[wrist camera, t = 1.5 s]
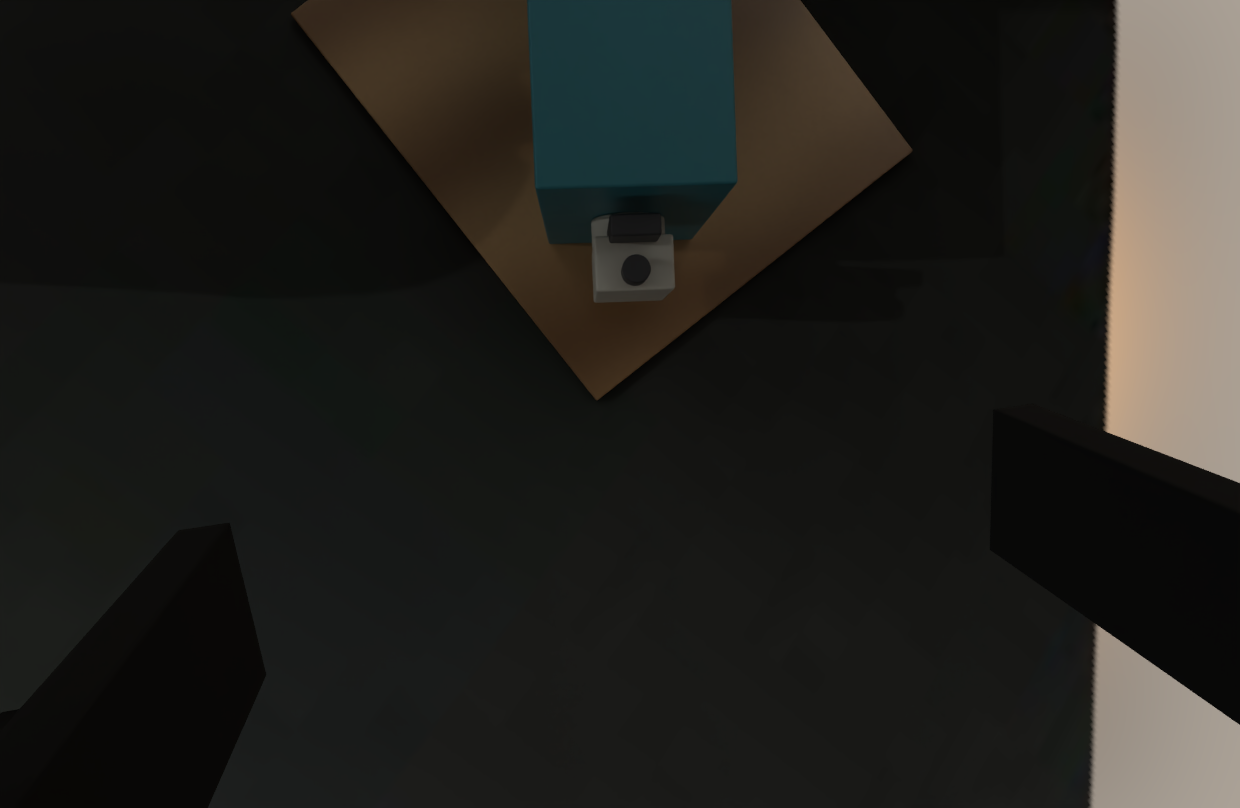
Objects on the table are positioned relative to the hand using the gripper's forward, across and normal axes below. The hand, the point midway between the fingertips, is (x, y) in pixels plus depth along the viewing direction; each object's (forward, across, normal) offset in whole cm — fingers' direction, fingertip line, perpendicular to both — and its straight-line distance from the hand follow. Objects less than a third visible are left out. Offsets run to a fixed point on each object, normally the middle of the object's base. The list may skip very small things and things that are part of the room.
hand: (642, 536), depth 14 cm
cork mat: (+24, +4, +10) cm, 26 cm away
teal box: (+23, +4, +9) cm, 25 cm away
